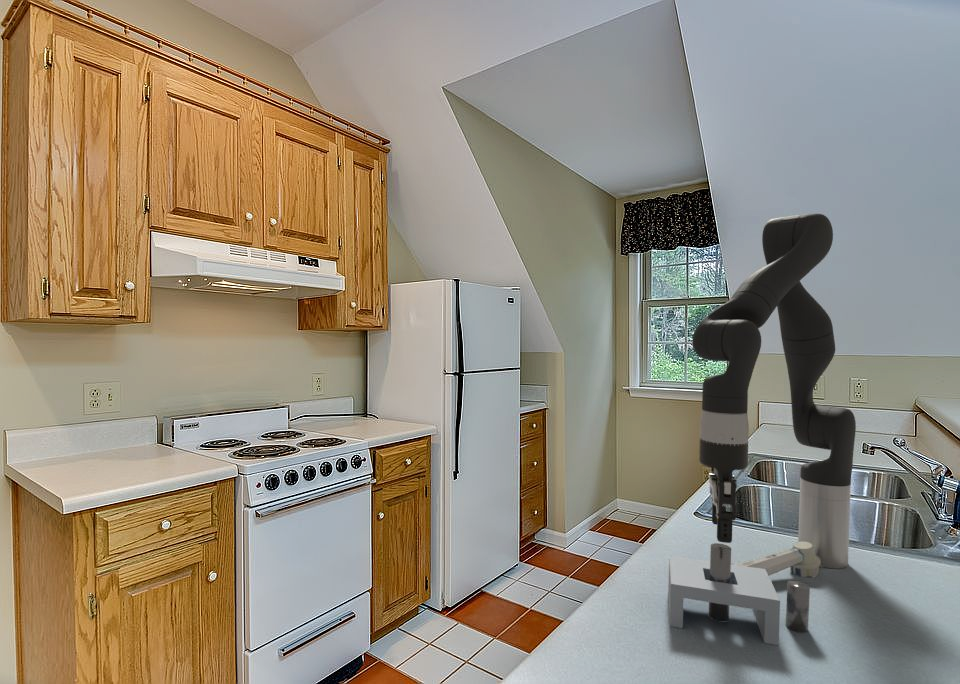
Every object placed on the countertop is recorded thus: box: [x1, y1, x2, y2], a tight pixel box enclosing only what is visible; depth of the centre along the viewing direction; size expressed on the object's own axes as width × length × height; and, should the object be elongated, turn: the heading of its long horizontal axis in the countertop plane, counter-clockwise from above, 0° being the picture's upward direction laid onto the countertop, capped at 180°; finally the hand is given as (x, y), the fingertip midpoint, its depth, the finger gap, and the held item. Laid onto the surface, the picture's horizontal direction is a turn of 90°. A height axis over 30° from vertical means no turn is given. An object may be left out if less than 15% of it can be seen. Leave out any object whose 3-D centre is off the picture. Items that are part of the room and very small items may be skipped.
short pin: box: [785, 580, 811, 634], centre depth 90 cm, size 3×3×7 cm
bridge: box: [667, 555, 781, 646], centre depth 93 cm, size 12×16×7 cm
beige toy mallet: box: [730, 541, 821, 584], centre depth 108 cm, size 5×7×25 cm
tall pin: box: [708, 542, 732, 623], centre depth 93 cm, size 3×3×12 cm
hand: (721, 532), depth 93 cm, fingers open, 8 cm apart
